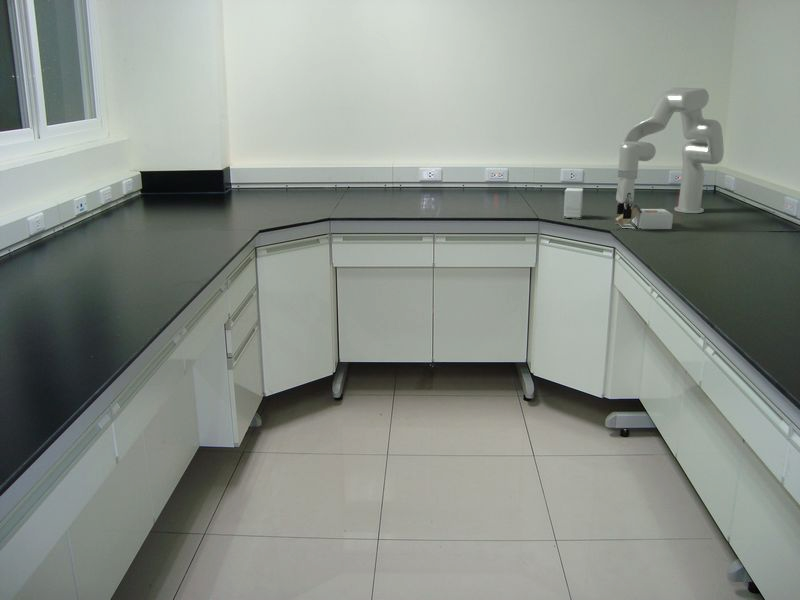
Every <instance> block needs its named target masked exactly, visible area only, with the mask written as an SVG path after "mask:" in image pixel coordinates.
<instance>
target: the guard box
mask: <svg viewBox="0 0 800 600" xmlns="http://www.w3.org/2000/svg"><path fill="white" fill-rule="evenodd" d="M640 209H641V211H642V213H641V214H639V215H637V216H636V217H635V218H633V219H632V220H631V223H632V222H633V223H634V224H635V225H636V226H637V227H636V226H635V225H634V224H633V223H632V224H633V225H634V226H635V227H636V228H638V229H639V228H641V229H640V230H672V228H673V221H674V220H673V218H674V214H673V213H672V212H671V211H670V212H669V211H668V210H666V209H665V208H640ZM647 212H657V213H647Z"/></svg>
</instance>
